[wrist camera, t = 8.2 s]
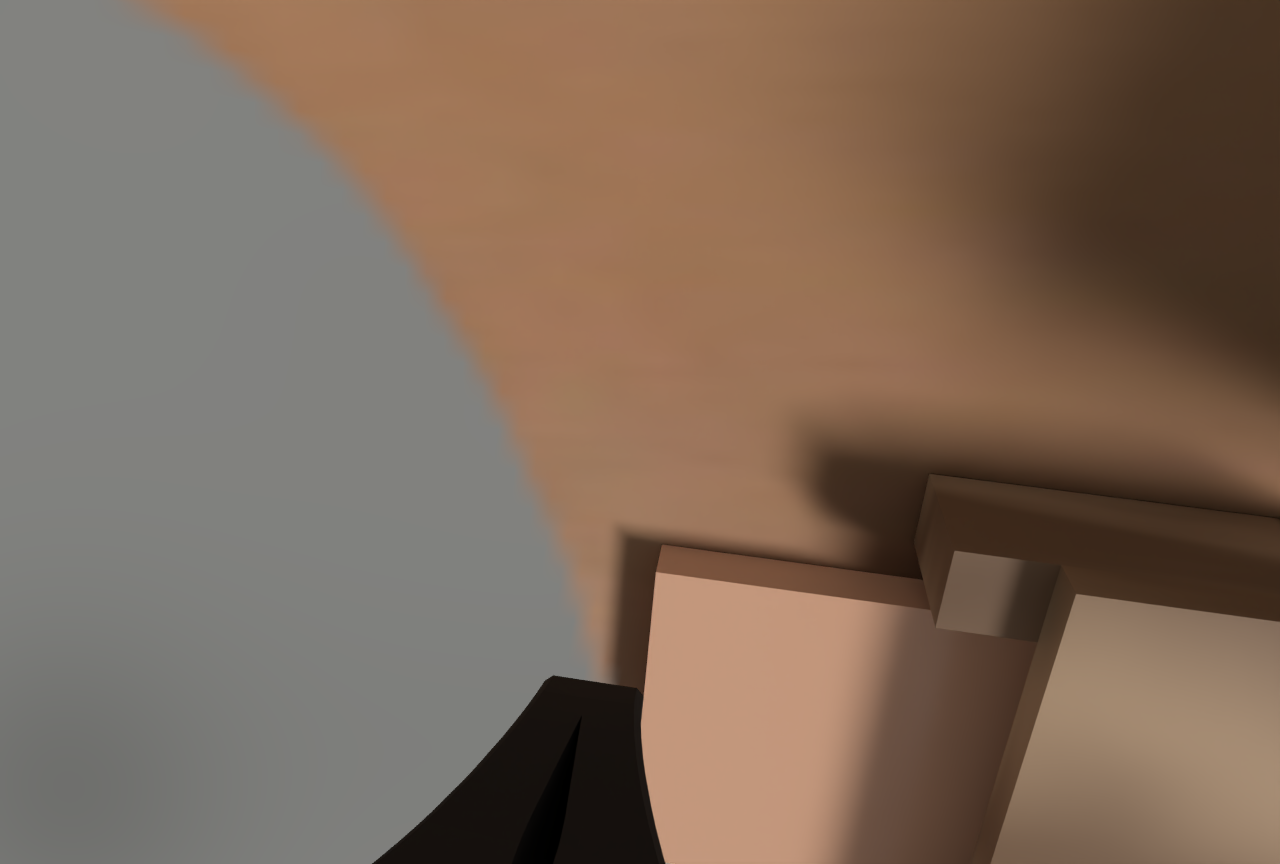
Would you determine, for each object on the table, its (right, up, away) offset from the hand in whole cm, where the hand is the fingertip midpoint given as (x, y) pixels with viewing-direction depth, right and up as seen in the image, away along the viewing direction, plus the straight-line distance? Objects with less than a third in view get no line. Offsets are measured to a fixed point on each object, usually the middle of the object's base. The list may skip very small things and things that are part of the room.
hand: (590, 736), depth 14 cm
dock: (+11, -4, +10) cm, 15 cm away
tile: (+7, -3, +11) cm, 14 cm away
